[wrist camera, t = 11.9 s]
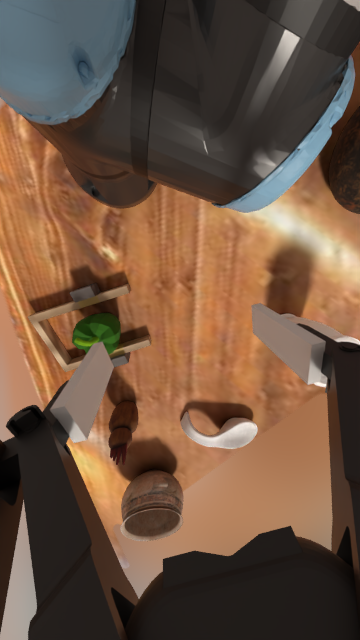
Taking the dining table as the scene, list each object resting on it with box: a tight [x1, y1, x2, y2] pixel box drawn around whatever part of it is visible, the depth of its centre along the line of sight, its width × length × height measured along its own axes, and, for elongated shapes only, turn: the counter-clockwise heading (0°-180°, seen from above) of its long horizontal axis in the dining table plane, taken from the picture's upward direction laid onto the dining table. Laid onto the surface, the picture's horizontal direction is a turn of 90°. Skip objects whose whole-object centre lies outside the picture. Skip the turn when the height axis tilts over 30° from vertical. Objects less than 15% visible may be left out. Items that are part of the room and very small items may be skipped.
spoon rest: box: [181, 412, 257, 449], centre depth 53 cm, size 24×12×7 cm, turn 71°
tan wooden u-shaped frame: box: [28, 283, 151, 372], centre depth 38 cm, size 18×20×4 cm
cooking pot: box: [121, 469, 183, 541], centre depth 56 cm, size 25×19×12 cm
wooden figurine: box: [109, 401, 138, 465], centre depth 42 cm, size 7×6×15 cm
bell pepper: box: [72, 313, 121, 355], centre depth 35 cm, size 8×8×10 cm
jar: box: [281, 313, 360, 387], centre depth 38 cm, size 11×10×15 cm
